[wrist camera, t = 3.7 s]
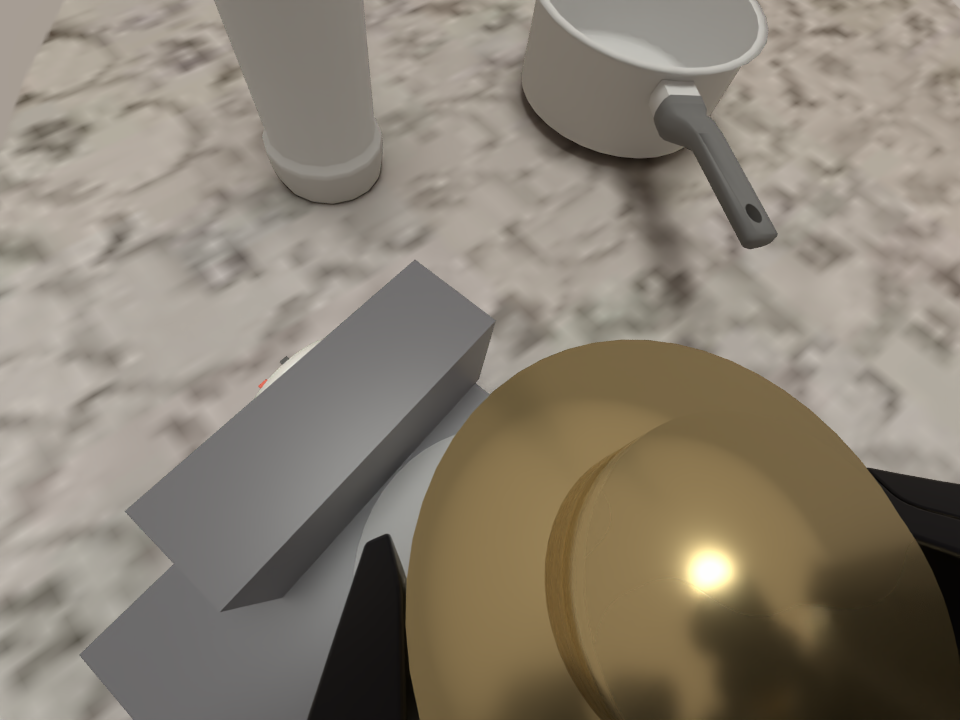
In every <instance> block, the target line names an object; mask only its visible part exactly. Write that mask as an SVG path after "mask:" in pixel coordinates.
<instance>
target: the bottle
mask: <svg viewBox="0 0 960 720" xmlns="http://www.w3.org/2000/svg"><path fill="white" fill-rule="evenodd" d="M214 1H215V4H216V6H217V9H218V11H219V14H220V16H221V19H222V22H223V24H224V27H225V29H226V32H227V34H228V37H229V39H230V42H231V44H232V47H233V50H234V52H235V55H236V57H237V60H238V62H239V65H240V67H241V70H242V72H243V75H244V78H245V80H246V83H247V85H248V88H249V90H250V93H251V95H252V98H253V100H254V103H255V106H256V108H257V111H258V113H259V116H260V118H261V121H262V123H263V126H264V128H265V129H264V132H263V135H262V138H263V142H264V145H265V149H266V152H267V155H268V157H269V160H270V162H271V164H272V167H273V169H274V171H275V172H276V174H277V175H278V177H279V178H280V179H281V180H282V182H283V183H284V184H285V185H286V186H287V187H288V188H289V189H290V190H291V191H292V192H293V193H294V194H295V195H298V196H300V197H303V198H305V199H307V200H310V201H312V202H320V203H331V204H334V203H339V202H344V201H349V200H353V199H355V198H357V197H359V196H360V195H362V194H364V193H365V192H367V191H369V190H370V188H371V187H372V186H373V184H374V183H375V182H376V180H377V179H378V177H379V174H380V169H381V162H382V154H383V142H382V132H381V130H380V128H379V125H378V123H377V121H376V118H375V117H374V113H373V102H372V91H371V80H370V69H369V58H368V47H367V36H366V25H365V15H364V4H363V0H214Z"/></svg>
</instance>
